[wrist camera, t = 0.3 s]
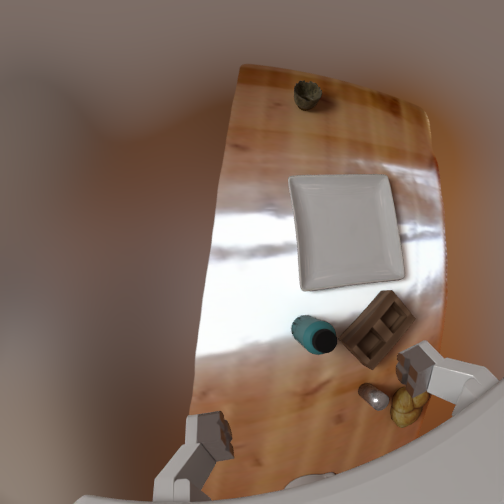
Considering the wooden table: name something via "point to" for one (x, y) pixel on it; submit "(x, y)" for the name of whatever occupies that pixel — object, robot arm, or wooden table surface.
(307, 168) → the wooden table surface
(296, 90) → the cup
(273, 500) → the robot arm
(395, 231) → the square plate
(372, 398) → the steel pin
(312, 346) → the beverage bottle
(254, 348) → the wooden table surface
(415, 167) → the wooden table surface
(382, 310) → the socket block
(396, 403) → the bread roll
